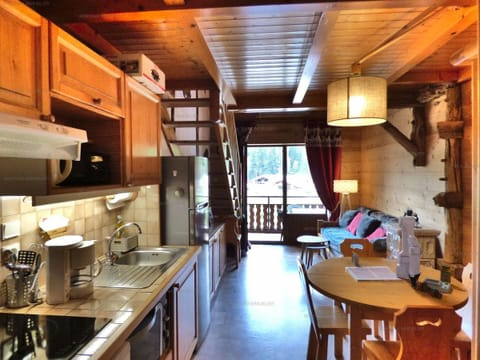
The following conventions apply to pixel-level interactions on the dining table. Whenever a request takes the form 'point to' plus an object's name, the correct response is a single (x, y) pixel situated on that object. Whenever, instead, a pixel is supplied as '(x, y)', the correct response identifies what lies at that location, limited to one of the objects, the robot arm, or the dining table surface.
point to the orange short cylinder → (416, 285)
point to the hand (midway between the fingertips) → (414, 285)
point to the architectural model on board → (355, 258)
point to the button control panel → (437, 284)
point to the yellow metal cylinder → (445, 274)
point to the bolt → (430, 290)
